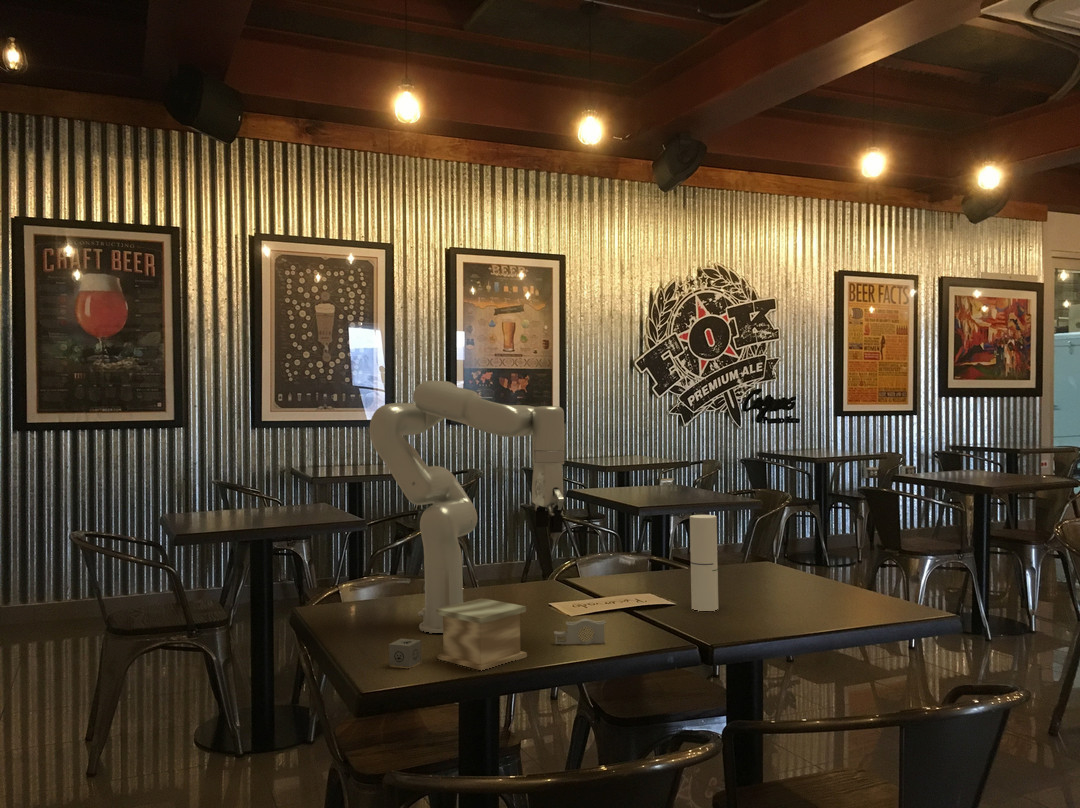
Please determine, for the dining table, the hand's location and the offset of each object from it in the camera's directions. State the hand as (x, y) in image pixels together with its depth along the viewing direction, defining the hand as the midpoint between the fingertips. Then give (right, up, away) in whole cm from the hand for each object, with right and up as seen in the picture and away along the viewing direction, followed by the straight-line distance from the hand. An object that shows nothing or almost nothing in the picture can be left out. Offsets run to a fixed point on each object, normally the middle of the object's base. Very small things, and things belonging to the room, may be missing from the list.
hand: (548, 529), depth 214 cm
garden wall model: (+7, -26, -5) cm, 28 cm away
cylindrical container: (+42, -26, +28) cm, 57 cm away
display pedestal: (-15, -26, -16) cm, 34 cm away
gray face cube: (-31, -27, -19) cm, 45 cm away
